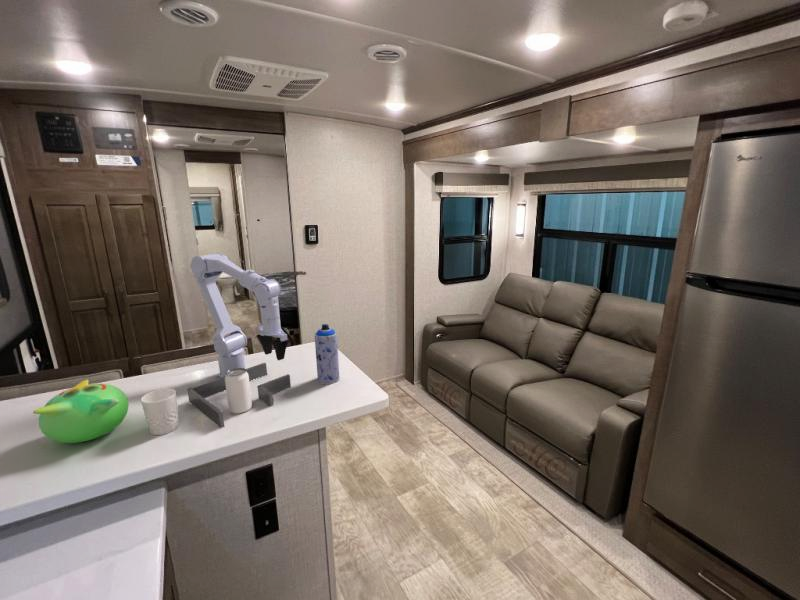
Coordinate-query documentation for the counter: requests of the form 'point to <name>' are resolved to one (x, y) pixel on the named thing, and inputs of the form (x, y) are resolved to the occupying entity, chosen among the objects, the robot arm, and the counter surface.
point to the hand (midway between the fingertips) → (274, 356)
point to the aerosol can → (327, 355)
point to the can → (238, 390)
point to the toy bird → (83, 412)
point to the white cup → (161, 411)
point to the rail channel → (218, 385)
